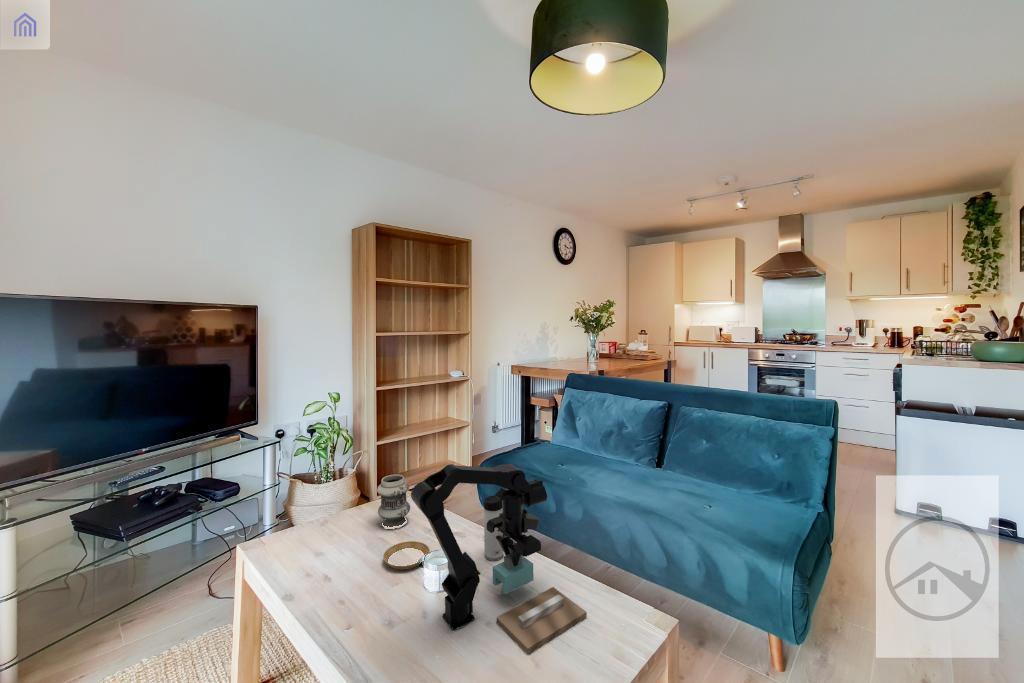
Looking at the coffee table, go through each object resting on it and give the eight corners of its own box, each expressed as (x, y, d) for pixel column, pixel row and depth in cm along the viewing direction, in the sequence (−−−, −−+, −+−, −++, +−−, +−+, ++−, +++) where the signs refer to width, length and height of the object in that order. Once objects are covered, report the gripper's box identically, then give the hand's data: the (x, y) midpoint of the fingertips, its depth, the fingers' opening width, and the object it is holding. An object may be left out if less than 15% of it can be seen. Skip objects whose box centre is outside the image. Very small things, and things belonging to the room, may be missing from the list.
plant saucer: (405, 544, 148) (405, 537, 148) (438, 554, 142) (438, 547, 141) (373, 566, 135) (373, 558, 135) (408, 579, 128) (408, 571, 128)
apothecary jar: (385, 515, 169) (384, 471, 168) (414, 516, 168) (413, 472, 167) (372, 530, 157) (371, 483, 156) (404, 532, 156) (402, 484, 155)
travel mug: (502, 562, 136) (501, 502, 135) (482, 560, 138) (481, 500, 136) (506, 551, 142) (505, 494, 141) (487, 549, 144) (486, 492, 143)
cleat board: (527, 654, 99) (527, 640, 99) (496, 622, 110) (496, 609, 109) (586, 617, 111) (586, 604, 111) (553, 591, 122) (553, 580, 121)
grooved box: (505, 594, 115) (504, 566, 114) (492, 583, 120) (492, 556, 119) (533, 580, 121) (533, 553, 120) (520, 570, 126) (520, 544, 125)
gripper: (555, 514, 116) (556, 568, 117) (515, 492, 131) (515, 540, 132) (524, 526, 110) (525, 584, 111) (485, 502, 124) (485, 553, 125)
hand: (513, 563), depth 120 cm, fingers closed on grooved box
